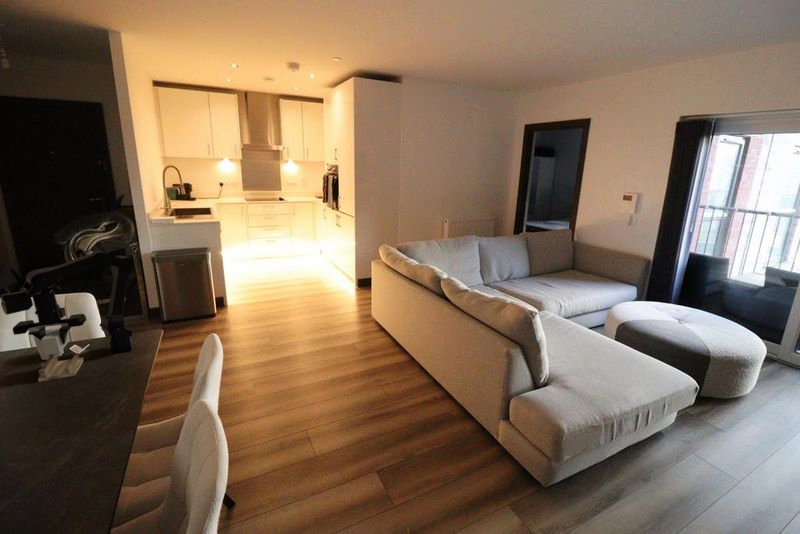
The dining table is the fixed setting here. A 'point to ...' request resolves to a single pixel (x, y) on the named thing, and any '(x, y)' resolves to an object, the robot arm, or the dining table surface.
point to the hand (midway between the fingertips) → (56, 345)
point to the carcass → (59, 367)
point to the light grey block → (53, 342)
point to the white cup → (41, 349)
